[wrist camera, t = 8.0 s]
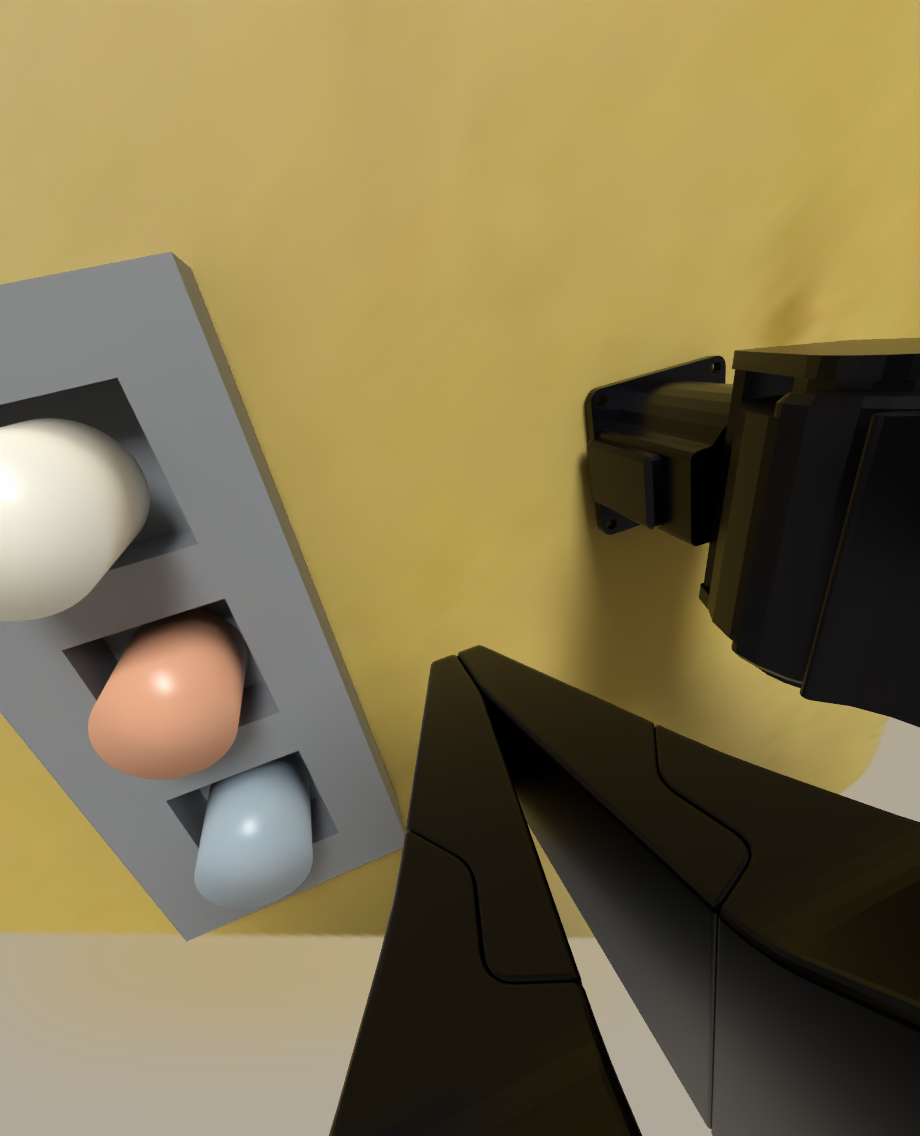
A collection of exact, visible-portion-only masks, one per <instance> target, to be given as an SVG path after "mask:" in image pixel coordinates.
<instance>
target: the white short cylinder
mask: <svg viewBox="0 0 920 1136" xmlns="http://www.w3.org/2000/svg"><path fill="white" fill-rule="evenodd" d="M149 508H150V494H149V488H148V484H147V480H146V478H145V476H144V473H143V471H142V470H141V468H140V466H139V464H138V463H137V462H136V460H135V459H134V458H133V456H132V455H131V454H130V453H129V452H128V451H127V450H126V449H125V448H124V447H123V446H122V445H121V444H119V443H118V442H117V441H116V440H114V439H113V438H111V437H110V436H108V435H107V434H105V433H103V432H101V431H99V430H98V429H96V428H93V427H91V426H88V425H86V424H83V423H79V422H76V421H71V420H66V419H57V418H40V419H33V420H27V421H23V422H19V423H16V424H12V425H8V426H4V427H0V621H6V622H13V621H28V620H35V619H40V618H44V617H48V616H51V615H54V614H57V613H59V612H62V611H64V610H66V609H68V608H70V607H72V606H73V605H75V604H76V603H78V602H79V601H81V600H82V599H83V598H84V597H85V596H86V595H87V594H88V593H90V591H91V590H92V589H93V588H94V587H95V585H96V584H97V583H98V582H99V581H100V579H101V578H102V577H103V576H104V575H105V573H106V572H107V571H108V570H109V568H110V567H111V566H112V565H113V564H114V562H115V561H116V560H117V559H118V558H119V556H120V555H121V554H122V553H123V552H124V550H125V549H126V548H127V547H128V545H129V544H130V543H131V542H132V541H133V539H134V538H135V537H136V536H137V535H138V533H139V532H140V531H141V529H142V528H143V526H144V524H145V522H146V519H147V517H148V513H149Z"/></svg>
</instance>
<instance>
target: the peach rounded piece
mask: <svg viewBox="0 0 920 1136" xmlns="http://www.w3.org/2000/svg"><path fill="white" fill-rule="evenodd" d="M247 657H248V656H247V648H246V644H245V641H244V639H243V637H242V636H241V634H240V633H239V631H238V630H237V629H236V628H235V627H234V626H233V625H232V624H231V623H229V622H228V621H227V620H225V619H223V618H222V617H220V616H218V615H215V614H213V613H210V612H206V611H202V610H195V609H190V610H187V611H184V612H181V613H178V614H174V615H171V616H168V617H165V618H162V619H159V620H156V621H152V622H149V623H146V624H143V625H141V626H140V627H139V628H138V629H137V631H136V632H135V633H134V635H133V636H132V638H131V640H130V641H129V643H128V645H127V647H126V649H125V651H124V652H123V654H122V656H121V658H120V660H119V661H118V663H117V665H116V667H115V669H114V671H113V672H112V674H111V676H110V678H109V680H108V681H107V683H106V685H105V687H104V689H103V691H102V692H101V694H100V696H99V698H98V700H97V701H96V703H95V705H94V707H93V709H92V711H91V714H90V716H89V722H88V734H89V739H90V741H91V744H92V746H93V748H94V749H95V751H96V753H97V754H98V755H99V756H100V757H101V758H102V759H103V760H104V761H105V762H106V763H107V764H109V765H110V766H112V767H113V768H115V769H117V770H119V771H121V772H123V773H126V774H128V775H131V776H135V777H139V778H145V779H155V780H164V779H175V778H181V777H185V776H189V775H192V774H195V773H197V772H200V771H202V770H204V769H206V768H208V767H210V766H211V765H213V764H214V763H216V762H217V761H218V760H219V759H220V758H222V757H223V756H224V755H225V754H226V752H227V751H228V750H229V749H230V747H231V746H232V744H233V742H234V740H235V738H236V735H237V731H238V725H239V717H240V710H241V702H242V695H243V688H244V680H245V673H246V666H247Z"/></svg>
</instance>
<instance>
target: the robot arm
mask: <svg viewBox="0 0 920 1136" xmlns="http://www.w3.org/2000/svg"><path fill="white" fill-rule="evenodd" d="M713 364H714V369H713V371H712V373H711V366H712V365H713ZM732 369H735V376H734V382H733V384H725V373H726V364H725V360H724V359H723V357H721V356H707V357H703V358H700V359H696V360H693V361H689V362H686V363H682V364H679V365H675V366H671V367H668V368H664V369H661V370H657V371H654V372H650V373H647V374H643V375H640V376H636V377H632V378H629V379H625V380H622V381H618V382H615V383H611V384H608V385H604V386H600V387H597V388H594V389H593V390H591V391H590V392H589V394H588V396H587V398H586V408H587V419H588V429H589V439H590V442H589V444H588V446H587V451H588V461H589V471H590V481H591V491H592V499H593V500H594V501H595V502H596V512H597V523H598V527H599V529H600V530H601V531H602V532H604V533H606V534H609V535H611V534H615V533H618V532H621V531H624V530H627V529H630V528H632V527H635V526H638V525H643V526H645V527H647V528H649V529H654V528H658V529H660V530H662V531H664V532H666V533H669V534H671V535H673V536H675V537H677V538H679V539H681V540H683V541H685V542H687V543H689V544H691V545H694V546H699V545H702V544H705V543H709V544H710V545H709V552H708V558H707V565H706V572H705V579H704V583H702V584H701V585H700V592H699V599H700V600H701V601H702V602H703V604H704V605H705V606H706V607H707V609H708V610H709V613H710V616H711V619H712V621H713V623H714V624H715V625H717V626H718V627H719V628H720V629H721V630H722V631H723V632H724V633H725V634H726V635H727V636H728V637H729V638H730V639H731V640H733V642H732V650H733V651H734V652H735V653H736V654H737V655H738V656H739V657H740V658H742V659H744V660H745V661H747V662H749V663H751V664H753V665H754V666H756V667H757V668H759V669H760V670H762V671H763V672H765V673H766V674H767V675H769V676H771V677H774V678H776V679H778V680H780V681H782V682H784V683H787V684H790V685H793V686H796V687H798V688H801V690H800V695H801V696H802V697H804V698H806V699H808V700H813V701H820V702H826V703H833V704H840V705H847V706H852V707H856V708H860V709H863V710H867V711H871V712H875V713H878V714H882V715H886V716H889V717H893V718H896V719H898V720H901V721H904V722H906V723H909V724H912V725H915V726H918V727H920V338H902V339H873V340H848V341H836V342H824V343H813V344H802V345H790V346H779V347H768V348H756V349H745V350H735V351H734V358H733V365H732ZM600 395H601V396H602V403H601V404H600V405H599V406H597V403H596V402H597V398H598V397H599V396H600ZM611 519H612V523H611V525H610V526H608V527H607V523H608V522H609V520H611ZM526 821H527V822H526ZM527 823H528V824H527ZM528 825H529V827H530V828H531V830H532V832H533V833H534V835H535V837H536V838H537V840H538V842H539V843H540V845H541V847H542V848H543V850H544V852H545V854H546V855H547V857H548V859H549V860H550V862H551V864H552V865H553V867H554V869H555V870H556V872H557V874H558V875H559V877H560V879H561V881H562V882H563V884H564V886H565V887H566V889H567V891H568V892H569V894H570V896H571V897H572V899H573V901H574V902H575V904H576V906H577V907H578V909H579V911H580V913H581V914H582V916H583V918H584V919H585V921H586V923H587V924H588V926H589V928H590V929H591V931H592V933H593V934H594V936H595V938H596V940H597V941H598V943H599V945H600V946H601V948H602V949H603V951H604V953H605V954H606V956H607V958H608V960H609V961H610V963H611V965H612V967H613V968H614V970H615V972H616V973H617V975H618V977H619V978H620V980H621V982H622V983H623V985H624V987H625V988H626V990H627V992H628V993H629V995H630V997H631V999H632V1000H633V1002H634V1003H635V1005H636V1007H637V1009H638V1010H639V1012H640V1014H641V1015H642V1017H643V1019H644V1020H645V1022H646V1024H647V1025H648V1027H649V1029H650V1031H651V1032H652V1034H653V1036H654V1037H655V1039H656V1041H657V1042H658V1044H659V1046H660V1047H661V1049H662V1051H663V1053H664V1054H665V1056H666V1058H667V1059H668V1061H669V1063H670V1064H671V1066H672V1068H673V1069H674V1071H675V1073H676V1074H677V1076H678V1078H679V1080H680V1081H681V1083H682V1085H683V1086H684V1088H685V1090H686V1091H687V1093H688V1094H689V1096H690V1098H691V1100H692V1101H693V1103H694V1105H695V1107H696V1108H697V1110H698V1112H699V1113H700V1115H701V1117H702V1118H703V1120H704V1122H705V1123H706V1125H707V1126H708V1128H710V1129H712V1135H713V1136H920V822H917V821H914V820H911V819H908V818H905V817H901V816H898V815H895V814H893V813H890V812H887V811H884V810H881V809H878V808H875V807H872V806H870V805H867V804H864V803H861V802H858V801H855V800H852V799H850V798H847V797H844V796H841V795H838V794H836V793H833V792H830V791H827V790H824V789H821V788H818V787H816V786H813V785H810V784H807V783H804V782H801V781H798V780H796V779H793V778H790V777H787V776H784V775H781V774H778V773H776V772H773V771H770V770H767V769H765V768H762V767H759V766H757V765H754V764H751V763H749V762H746V761H743V760H741V759H738V758H735V757H732V756H730V755H727V754H724V753H722V752H720V751H717V750H715V749H713V748H710V747H708V746H705V745H703V744H701V743H698V742H696V741H694V740H691V739H689V738H686V737H684V736H682V735H680V734H677V733H675V732H673V731H671V730H669V729H666V728H664V727H662V726H660V725H657V726H655V727H654V724H653V723H652V722H650V721H648V720H646V719H644V718H641V717H639V716H637V715H635V714H633V713H630V712H628V711H626V710H624V709H621V708H619V707H617V706H615V705H613V704H610V703H608V702H606V701H604V700H602V699H599V698H597V697H595V696H593V695H590V694H588V693H586V692H584V691H582V690H579V689H577V688H575V687H573V686H570V685H568V684H566V683H564V682H562V681H559V680H557V679H555V678H553V677H551V676H548V675H546V674H544V673H542V672H539V671H537V670H535V669H533V668H531V667H528V666H526V665H524V664H522V663H519V662H517V661H515V660H513V659H511V658H508V657H506V656H504V655H502V654H500V653H497V652H495V651H493V650H491V649H488V648H486V647H484V646H481V645H477V646H474V647H472V648H469V649H466V650H464V651H461V652H459V653H458V655H457V656H456V655H450V656H447V657H445V658H442V659H439V660H436V661H434V662H433V663H432V664H431V669H430V675H429V682H428V689H427V695H426V702H425V708H424V715H423V721H422V728H421V735H420V741H419V748H418V754H417V761H416V767H415V774H414V781H413V787H412V794H411V800H410V807H409V813H408V820H407V827H406V830H407V833H406V834H405V838H404V844H403V851H402V857H401V863H400V869H399V874H398V879H397V885H396V890H395V895H394V901H393V906H392V910H391V913H390V917H389V921H388V925H387V929H386V933H385V937H384V942H383V946H382V949H381V953H380V957H379V961H378V964H377V969H376V971H375V975H374V979H373V982H372V986H371V989H370V993H369V996H368V1000H367V1004H366V1007H365V1011H364V1014H363V1018H362V1021H361V1025H360V1028H359V1032H358V1036H357V1039H356V1043H355V1046H354V1050H353V1053H352V1057H351V1061H350V1064H349V1068H348V1071H347V1075H346V1079H345V1082H344V1086H343V1089H342V1093H341V1096H340V1100H339V1103H338V1107H337V1111H336V1114H335V1117H334V1120H333V1124H332V1127H331V1130H330V1134H329V1136H642V1134H641V1132H640V1129H639V1127H638V1125H637V1122H636V1120H635V1117H634V1115H633V1113H632V1110H631V1108H630V1106H629V1103H628V1101H627V1099H626V1096H625V1094H624V1092H623V1089H622V1087H621V1084H620V1082H619V1080H618V1077H617V1075H616V1072H615V1070H614V1067H613V1065H612V1063H611V1060H610V1057H609V1055H608V1052H607V1049H606V1047H605V1044H604V1042H603V1039H602V1036H601V1034H600V1031H599V1028H598V1026H597V1023H596V1020H595V1017H594V1014H593V1012H592V1009H591V1006H590V1003H589V1000H588V998H587V995H586V992H585V990H584V988H583V986H582V982H581V977H580V974H579V972H578V969H577V966H576V963H575V960H574V957H573V954H572V952H571V948H570V946H569V943H568V940H567V937H566V934H565V931H564V928H563V925H562V923H561V920H560V917H559V914H558V911H557V908H556V905H555V902H554V899H553V897H552V894H551V891H550V888H549V885H548V882H547V879H546V876H545V873H544V871H543V868H542V865H541V862H540V859H539V856H538V853H537V850H536V848H535V845H534V842H533V839H532V836H531V833H530V830H529V827H528Z"/></svg>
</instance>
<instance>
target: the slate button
mask: <svg viewBox="0 0 920 1136" xmlns="http://www.w3.org/2000/svg"><path fill="white" fill-rule="evenodd" d="M312 862H313V849H312V828H311V807H310V785H309V774H308V771H307V768H306V766H305V765H304V763H303V762H302V761H301V760H300V759H299V758H297V757H296V756H294V755H293V754H288V755H285V756H283V757H280V758H277V759H275V760H272V761H270V762H267V763H264V764H262V765H259V766H257V767H254V768H251V769H249V770H246V771H243V772H241V773H238V774H236V775H233V776H230V777H228V778H225V779H222V780H220V781H217V782H215V783H212V784H211V785H210V790H209V796H208V801H207V807H206V812H205V818H204V823H203V829H202V834H201V840H200V845H199V851H198V857H197V862H196V868H195V874H194V880H195V885H196V888H197V890H198V891H199V893H200V894H201V895H202V896H203V897H204V898H205V899H207V900H208V901H210V902H212V903H214V904H216V905H219V906H223V907H227V908H237V909H242V908H253V907H258V906H263V905H266V904H269V903H272V902H275V901H277V900H279V899H281V898H283V897H285V896H286V895H288V894H290V893H291V892H292V891H294V890H295V889H296V888H297V887H298V886H300V884H301V883H302V882H303V881H304V880H305V879H306V877H307V876H308V874H309V872H310V870H311V867H312Z"/></svg>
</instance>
